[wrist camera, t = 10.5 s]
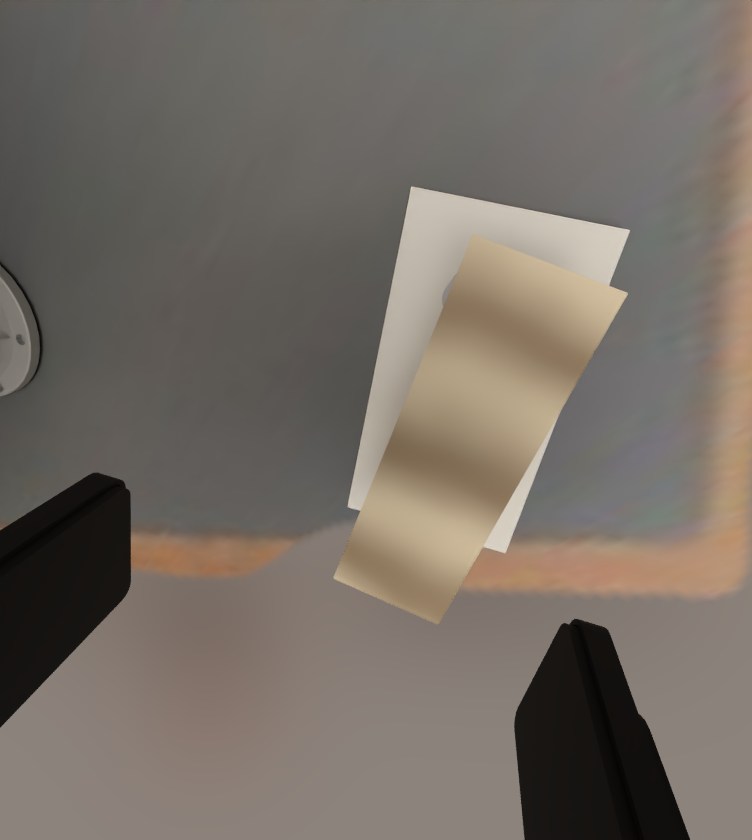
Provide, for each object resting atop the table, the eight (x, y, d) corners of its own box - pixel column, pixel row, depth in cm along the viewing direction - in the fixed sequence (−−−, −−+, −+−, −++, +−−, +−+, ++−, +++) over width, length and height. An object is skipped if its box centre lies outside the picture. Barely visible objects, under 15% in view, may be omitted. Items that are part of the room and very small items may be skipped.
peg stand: (354, 493, 36) (317, 567, 28) (415, 189, 28) (388, 169, 19) (504, 536, 35) (510, 628, 27) (619, 230, 26) (682, 227, 18)
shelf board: (474, 234, 20) (472, 233, 17) (607, 285, 19) (628, 293, 17) (348, 544, 27) (333, 578, 24) (442, 585, 27) (438, 624, 24)
